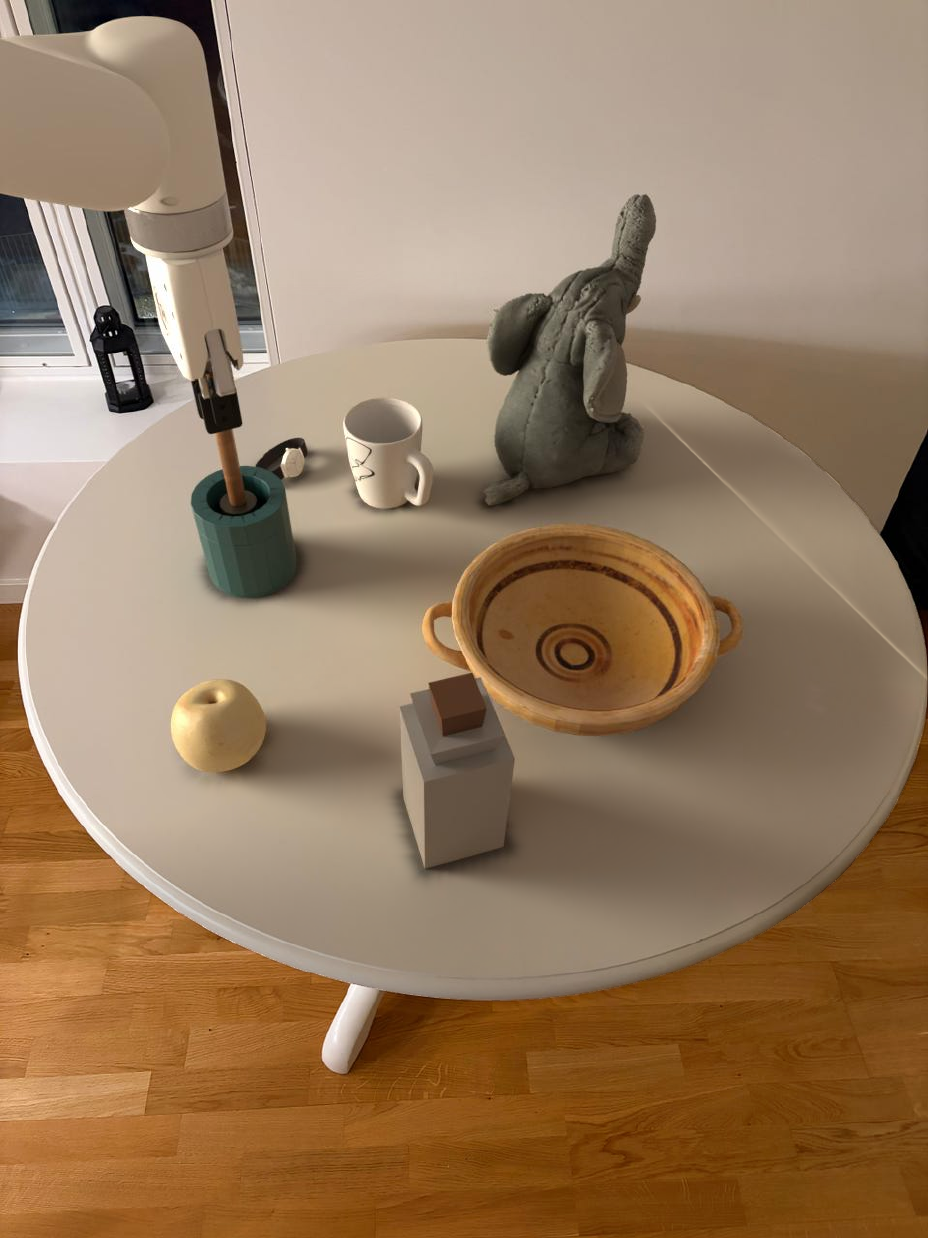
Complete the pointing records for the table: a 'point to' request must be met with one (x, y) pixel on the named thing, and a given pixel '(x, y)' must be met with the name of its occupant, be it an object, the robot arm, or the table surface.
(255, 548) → the teal hollow cylinder
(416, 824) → the perfume bottle
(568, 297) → the stuffed elephant
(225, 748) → the apple
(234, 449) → the brush
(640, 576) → the ceramic bowl
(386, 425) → the mug
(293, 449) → the watch
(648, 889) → the table surface
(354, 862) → the table surface
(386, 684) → the table surface
